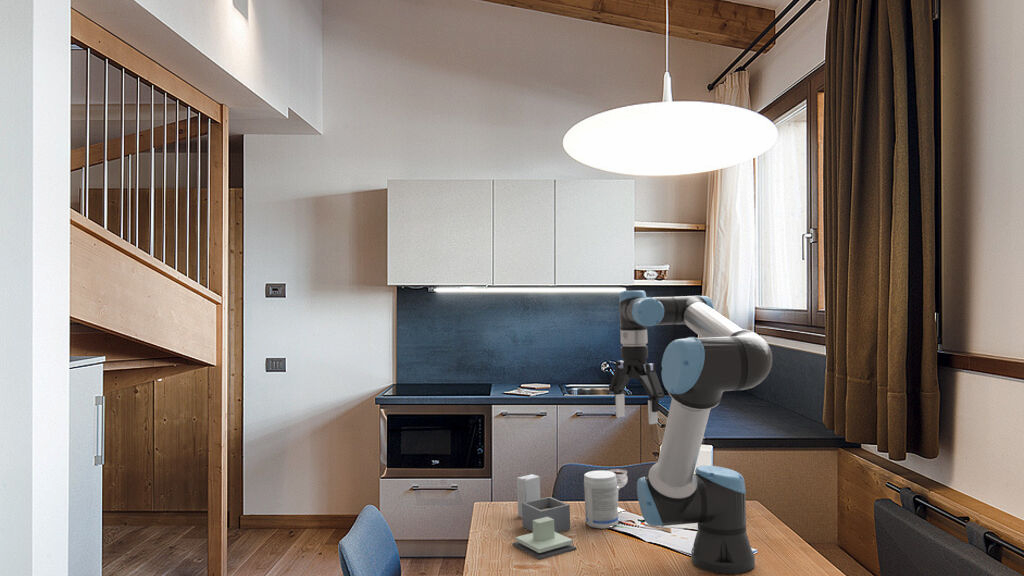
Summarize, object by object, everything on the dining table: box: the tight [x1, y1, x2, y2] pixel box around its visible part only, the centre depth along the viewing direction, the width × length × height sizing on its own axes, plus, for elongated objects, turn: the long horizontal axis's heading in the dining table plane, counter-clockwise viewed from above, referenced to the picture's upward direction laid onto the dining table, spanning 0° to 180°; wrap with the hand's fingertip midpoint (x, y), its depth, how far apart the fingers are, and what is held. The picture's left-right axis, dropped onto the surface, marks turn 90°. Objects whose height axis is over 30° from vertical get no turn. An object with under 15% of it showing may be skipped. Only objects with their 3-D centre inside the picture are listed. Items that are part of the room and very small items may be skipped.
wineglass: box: [606, 468, 629, 512], centre depth 215 cm, size 7×7×12 cm
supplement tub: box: [583, 470, 619, 530], centre depth 202 cm, size 10×10×15 cm
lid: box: [515, 517, 573, 553], centre depth 186 cm, size 11×11×7 cm
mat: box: [512, 541, 577, 560], centre depth 186 cm, size 13×12×1 cm
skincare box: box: [516, 473, 541, 518], centre depth 212 cm, size 6×4×12 cm
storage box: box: [521, 496, 571, 533], centre depth 201 cm, size 10×10×7 cm
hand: (636, 420), depth 195 cm, fingers open, 13 cm apart
